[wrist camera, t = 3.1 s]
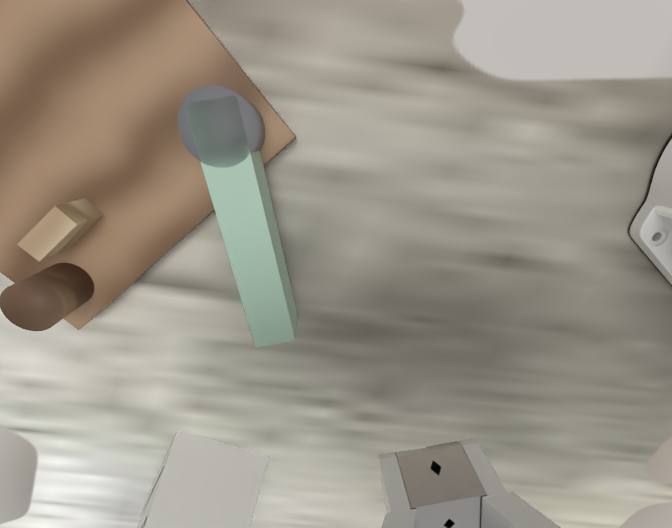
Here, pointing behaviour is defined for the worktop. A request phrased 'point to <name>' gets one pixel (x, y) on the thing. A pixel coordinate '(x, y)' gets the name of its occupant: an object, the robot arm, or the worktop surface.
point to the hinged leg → (242, 205)
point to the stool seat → (101, 147)
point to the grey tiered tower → (204, 485)
